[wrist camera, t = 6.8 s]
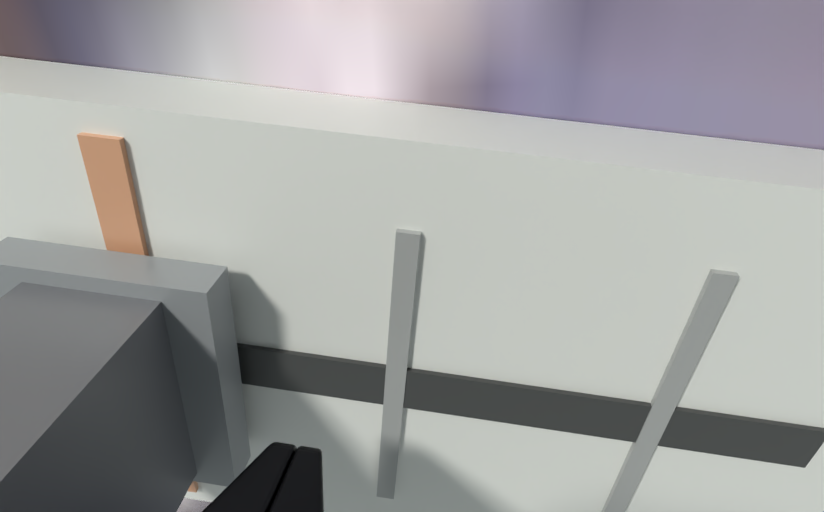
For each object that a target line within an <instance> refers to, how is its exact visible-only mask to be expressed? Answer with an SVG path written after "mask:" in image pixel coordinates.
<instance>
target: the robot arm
mask: <svg viewBox="0 0 824 512" xmlns="http://www.w3.org/2000/svg"><path fill="white" fill-rule="evenodd" d="M202 512H324V500H323V467H322V451H321V449H319V448H313V447H307V446H300V447H298V448H297V447H296V446H295V445H293V444H287V443H281V442H273V443H271V444H270V445H269V446H268V447H267V448H266V449H265V450H264V451H263V452H262V453H261V454H260V455H259V456H258V457H257V458H256V459H255V460H254V461H253V462H252V463H251V464H250V465H249V466H248V467H247V468H246V469H245V470H244V471H243V472H242V473H241V474H240V475H239V476H238V477H237V478H235V479H234V480H233V481H232V482H231V483H230V484H229V485H228V486H227V487H226V488H225V489H224V490H223V491H222V492H221V493H220V494H219V495H218V496H217V497H216V498H215V499H214V500H213V501H212V502H211V503H210V504H209V505H208V506H207V507H206V508H205V509H204V510H203V511H202Z"/></svg>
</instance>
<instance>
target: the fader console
mask: <svg viewBox="0 0 824 512" xmlns="http://www.w3.org/2000/svg"><path fill="white" fill-rule="evenodd" d="M6 237H13V238H21V239H28V240H36V241H43V242H50V243H58V244H65V245H72V246H80V247H87V248H94V249H102V250H109V251H116V252H124V253H131V254H138V255H146V256H153V257H160V258H168V259H175V260H182V261H190V262H197V263H205V264H212V265H219V266H227V268H228V276H229V284H230V292H231V300H232V308H233V316H234V324H235V332H236V341H237V349H238V357H239V365H240V373H241V381H242V389H243V397H244V405H245V413H246V422H247V430H248V438H249V446H250V454H251V457H250V459H249V461H248V463H247V465H246V468H247V467H248V466H249V465H250V464H251V463H252V462H253V461H254V460H255V459H256V458H257V457H258V456H259V455H260V454H261V453H262V452H263V451H264V450H265V449H266V448H267V447H268V446H269V445H270V444H271V443H273V442H281V443H287V444H293V445H295V446H296V447H297V448H298V447H300V446H307V447H313V448H319V449H321V451H322V467H323V500H324V512H823V511H824V150H819V149H811V148H802V147H793V146H784V145H776V144H767V143H758V142H749V141H740V140H732V139H723V138H714V137H705V136H697V135H688V134H679V133H670V132H662V131H653V130H644V129H635V128H626V127H618V126H609V125H600V124H591V123H583V122H574V121H565V120H556V119H548V118H539V117H530V116H521V115H513V114H504V113H495V112H486V111H477V110H469V109H460V108H451V107H442V106H434V105H425V104H416V103H407V102H399V101H390V100H381V99H372V98H364V97H355V96H346V95H337V94H328V93H320V92H311V91H302V90H293V89H285V88H276V87H267V86H258V85H250V84H241V83H232V82H223V81H215V80H206V79H197V78H188V77H179V76H171V75H162V74H153V73H144V72H136V71H127V70H118V69H109V68H101V67H92V66H83V65H74V64H66V63H57V62H48V61H39V60H30V59H22V58H13V57H4V56H0V241H1V240H3V239H5V238H6ZM246 468H245V469H246ZM226 487H227V486H220V485H214V484H208V483H202V482H196V481H193V482H192V484H191V485H190V487H189V489H188V491H187V493H186V495H185V496H184V498H189V499H195V500H201V501H207V502H212V501H213V500H214V499H215V498H216V497H217V496H218V495H219V494H220V493H221V492H222V491H223V490H224V489H225V488H226Z"/></svg>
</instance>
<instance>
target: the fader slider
mask: <svg viewBox="0 0 824 512" xmlns="http://www.w3.org/2000/svg"><path fill="white" fill-rule="evenodd" d="M250 457H251V454H250V446H249V438H248V430H247V422H246V413H245V405H244V397H243V389H242V381H241V373H240V365H239V357H238V349H237V341H236V332H235V324H234V316H233V308H232V300H231V292H230V284H229V276H228V268H227V266H219V265H212V264H205V263H197V262H190V261H182V260H175V259H168V258H160V257H153V256H146V255H138V254H131V253H124V252H116V251H109V250H102V249H94V248H87V247H80V246H72V245H65V244H58V243H50V242H43V241H36V240H28V239H21V238H13V237H6V238H5V239H3V240H1V241H0V512H176V511H177V509H178V508H179V506H180V504H181V502H182V500H183V498H184V496H185V495H186V493H187V491H188V489H189V487H190V485H191V484H192V482H193V481H196V482H202V483H208V484H214V485H220V486H228V485H229V484H230V483H231V482H232V481H233V480H234V479H235V478H237V477H238V476H239V475H240V474H241V473H242V472H243V471H244V470H245V468H246V465H247V463H248V461H249V459H250Z"/></svg>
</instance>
